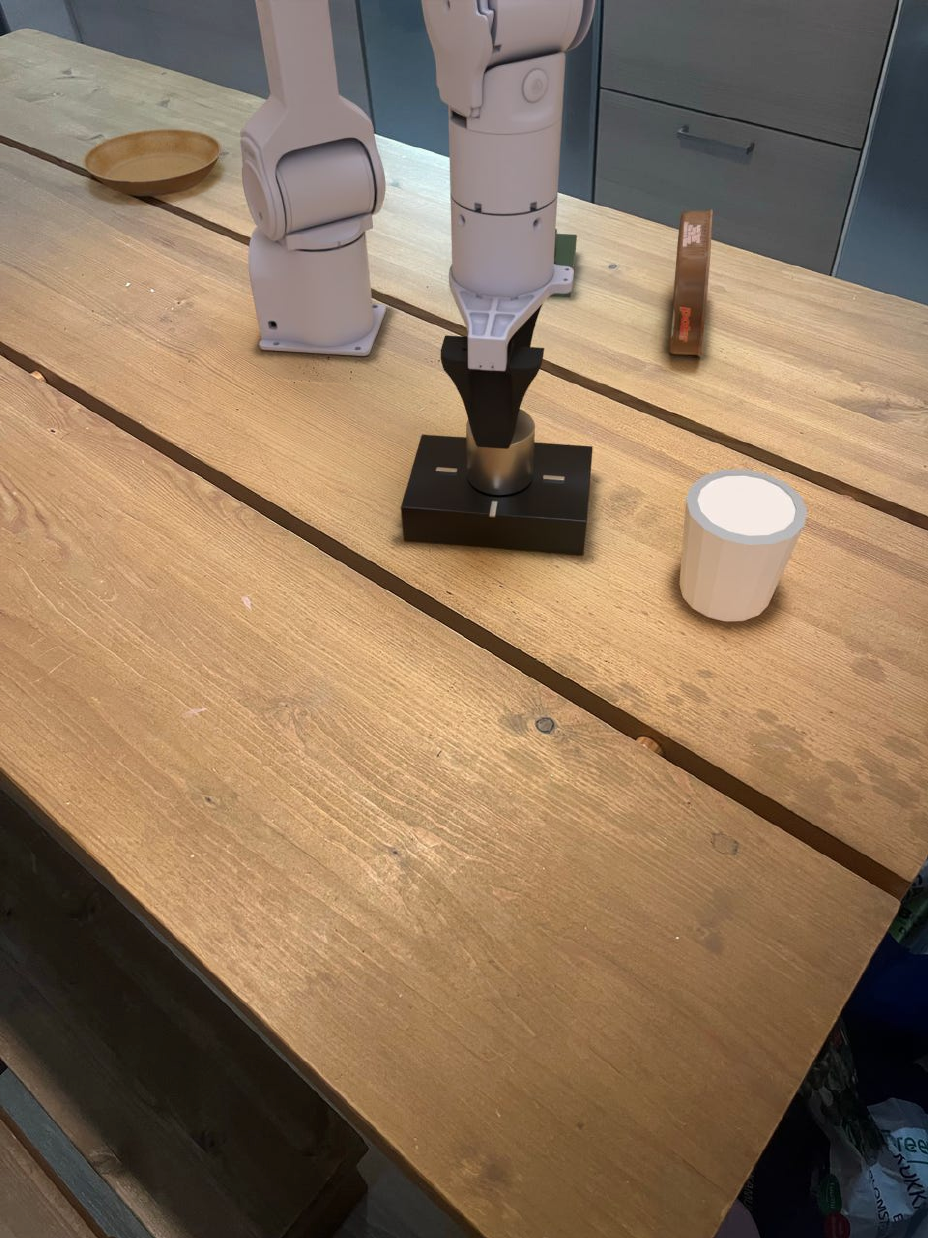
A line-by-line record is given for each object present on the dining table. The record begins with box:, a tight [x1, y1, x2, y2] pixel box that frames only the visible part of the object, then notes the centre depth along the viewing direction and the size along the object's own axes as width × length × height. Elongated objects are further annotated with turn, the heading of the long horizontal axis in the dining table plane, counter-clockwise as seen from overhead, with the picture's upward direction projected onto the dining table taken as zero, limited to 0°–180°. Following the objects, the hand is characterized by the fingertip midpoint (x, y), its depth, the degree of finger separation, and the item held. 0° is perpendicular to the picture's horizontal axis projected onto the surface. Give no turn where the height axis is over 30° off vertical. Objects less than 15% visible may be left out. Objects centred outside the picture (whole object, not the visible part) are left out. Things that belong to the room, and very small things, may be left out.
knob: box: [465, 408, 536, 495], centre depth 62 cm, size 4×4×4 cm
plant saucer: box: [82, 128, 222, 197], centre depth 105 cm, size 15×15×3 cm
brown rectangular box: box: [668, 209, 714, 357], centre depth 79 cm, size 15×3×8 cm, turn 168°
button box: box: [549, 228, 578, 298], centre depth 88 cm, size 10×8×4 cm
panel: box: [400, 434, 594, 556], centre depth 65 cm, size 12×9×3 cm
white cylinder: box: [679, 468, 808, 622], centre depth 58 cm, size 7×7×7 cm
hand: (500, 408), depth 61 cm, fingers open, 7 cm apart
